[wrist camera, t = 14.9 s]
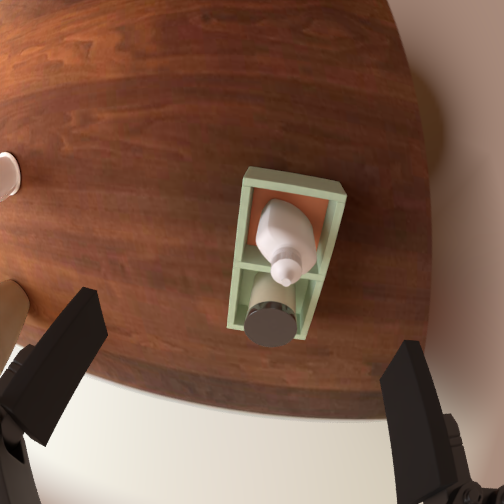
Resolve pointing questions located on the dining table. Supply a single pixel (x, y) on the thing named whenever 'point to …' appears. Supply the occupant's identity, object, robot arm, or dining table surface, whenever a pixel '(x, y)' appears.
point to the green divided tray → (252, 260)
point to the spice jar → (271, 312)
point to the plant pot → (11, 317)
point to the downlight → (8, 175)
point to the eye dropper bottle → (286, 241)
